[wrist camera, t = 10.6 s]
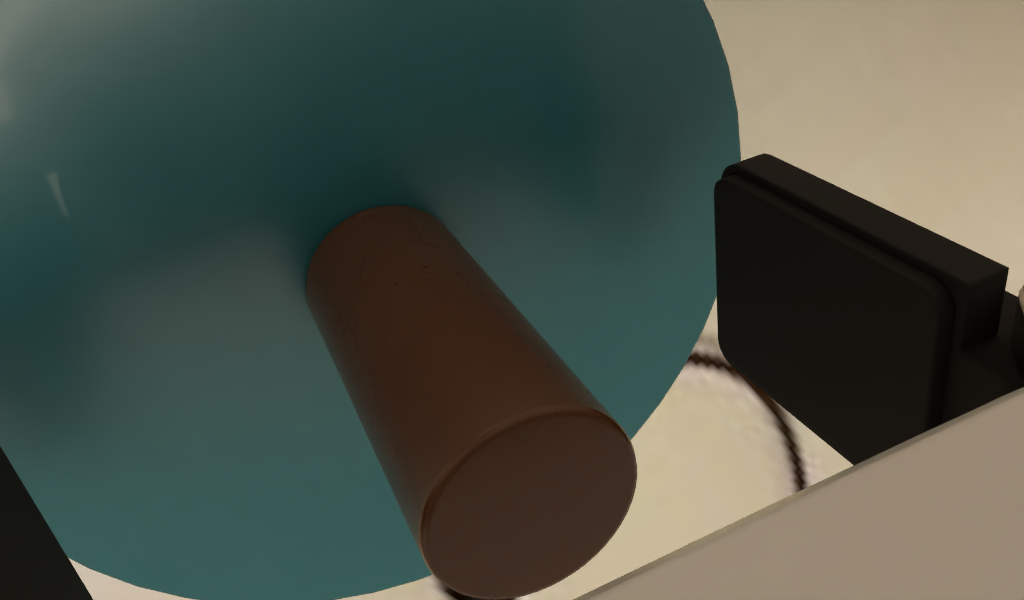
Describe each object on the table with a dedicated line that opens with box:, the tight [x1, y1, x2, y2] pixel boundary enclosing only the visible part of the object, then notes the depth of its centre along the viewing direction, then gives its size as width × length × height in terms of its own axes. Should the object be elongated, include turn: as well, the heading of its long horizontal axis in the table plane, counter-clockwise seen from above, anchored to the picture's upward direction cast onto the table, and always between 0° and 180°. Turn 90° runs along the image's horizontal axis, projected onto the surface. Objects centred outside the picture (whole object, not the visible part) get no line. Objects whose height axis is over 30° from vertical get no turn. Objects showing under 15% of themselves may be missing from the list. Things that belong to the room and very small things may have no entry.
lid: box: [0, 0, 741, 600], centre depth 12 cm, size 13×13×7 cm
